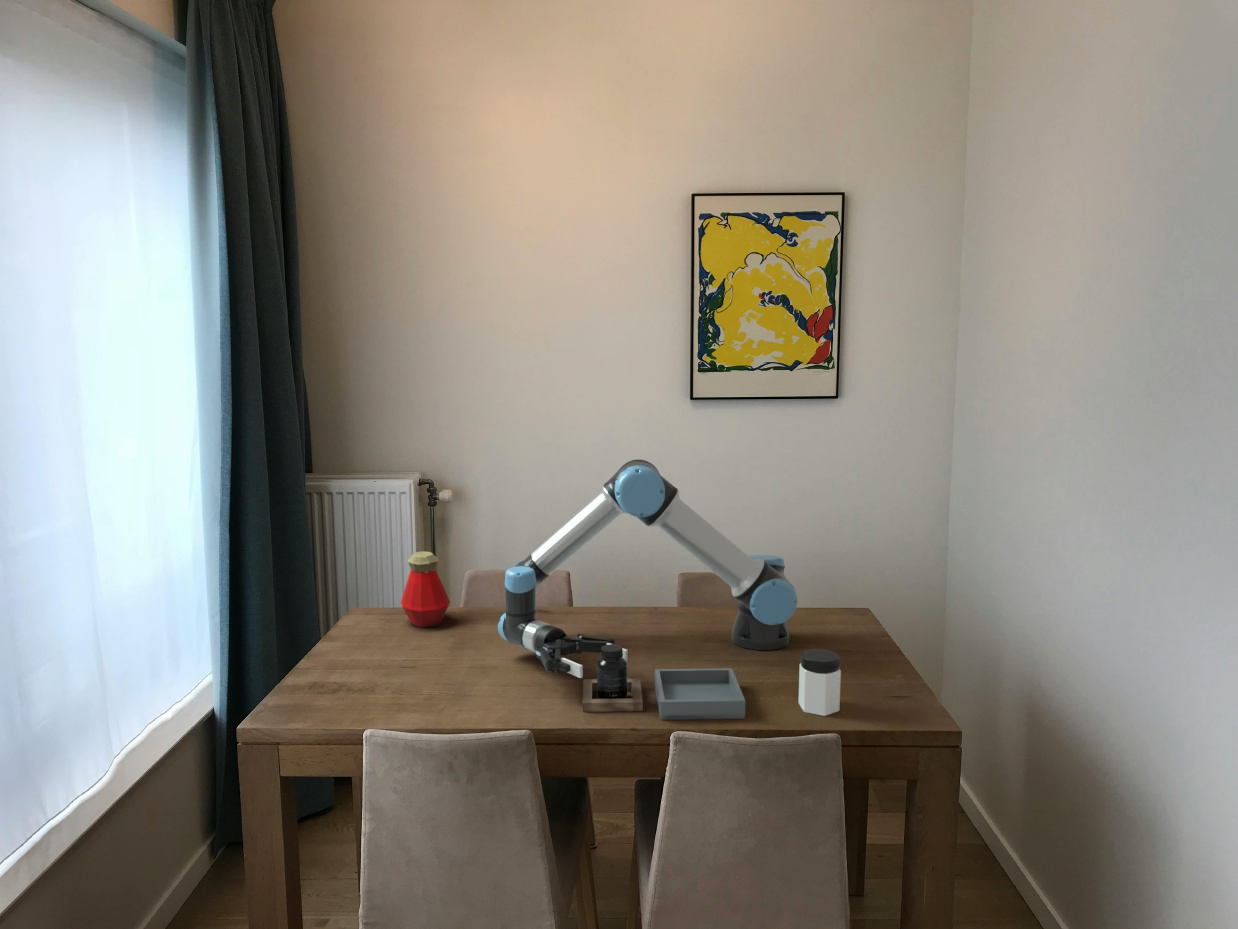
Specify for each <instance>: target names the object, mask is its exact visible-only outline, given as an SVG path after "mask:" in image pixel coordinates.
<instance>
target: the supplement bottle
mask: <svg viewBox="0 0 1238 929" xmlns="http://www.w3.org/2000/svg"><path fill="white" fill-rule="evenodd" d="M622 648H623V647H622V646H621V645H619V644H610V645H605V646H603V647H602V648H601V653H600V658H599V659H598V660H597V662H596V679H597V691H596V693H597V694H596V695H597V698H596V699H628V690H627V679H628V661H627V662H626V660H625V659H624V658H623V649H622Z"/></svg>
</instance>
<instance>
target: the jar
mask: <svg viewBox="0 0 1238 929" xmlns="http://www.w3.org/2000/svg"><path fill="white" fill-rule="evenodd" d="M840 665H841V660H840V655H839V654H838V653H837V652H836V651H833V650H829V649H824V648H809V649H806V650H804V651H802V652H801V655H800V663H799V666H798V667H799V674H798V676H799V677H798V700H797V701H798V706H800V708H801V710H802V711H803V713H807V714H811V715H816V716H823V717H826V716H830V715H831V714H832V715H833V714H835V713H837V712H839V711H840V708H841V707H840V702H841V701H840V700H841V678H842V677H841V676H842V671H841V669H840Z"/></svg>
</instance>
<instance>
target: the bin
mask: <svg viewBox="0 0 1238 929" xmlns="http://www.w3.org/2000/svg"><path fill="white" fill-rule="evenodd" d="M654 690H655V695H656V701H657V706H658V714H659V719H660V721H665V720H666V721H669V720H673V721H674V720H675V721H677V720H679V721H680V720H684V721H685V720H745V719H746V699H745V696H744V694H743V691H742V689H741V687H740V684H739V682H738V679H737V677H736V674H735V672H734V670H733V668H729V667H727V668H726V667H725V668H668V669H667V668H665V669H664V668H661V669H658V668H657V669H656V668H655V669H654Z"/></svg>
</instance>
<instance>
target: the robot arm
mask: <svg viewBox="0 0 1238 929" xmlns="http://www.w3.org/2000/svg"><path fill="white" fill-rule="evenodd" d="M601 489H602V490H601V492H599V493H598V494H597V495H596V496H595V497H594V498H593V499H592V500H590V501H589V502H588V503H587V504H586V505H585V506H584V507H583V508H581V509H580V510H579V511H578V512H577V513H576V514H575V515H573V516H572V517H571V518H570V519H569V520H568V521H566V523H565V524H563V525H562V526H561V527H560V528H559V529H558V530H556V531H555V532H554V533H553V534H552V535H550V537H549V538H547V539H546V540H545V541H544V542H543V543H541V545H539V546H538V547H537V548H536V549H534V551H532V553H531V554H529V555H528V556H527V557H526V558H525V559H522V560H520V561H519V562H517V564H516V565H515V566H512V567H510V568H507V570H506V571H505V573H504V578H505V579H504V589H505V590H504V591H505V613H503V614H502V615H501V616H500V618H499V622H498V623H497V631H498V634H499V635H500V637H501V638H502V639H503V640H505V641H507V642H508V643H510V644H512V645H516V646H519V647H521V648H524V649H526V650H528V651H531V652H533V653H535V654H536V658H537V659H539V660H540V661H541V663H542V665H543V667H544V668H545V670H546V671H547V672H552V671H553V669H554V673H555V674H560V673H561V671H562V672H564V673H567V674H570V675H572V676H574V677H577V678H579V679H582V678H584V677H583V676H584V670H583V668H584V666H583V664H580V663H577V662H575V661H572V660H570V659H568V658H565V656H568V655H571V654H576V655H578V654H579V655H580V654H582V653H600V654H601V648H602V647H603V646H605V645H610V644H615V638H608V637H603V636H602V637H600V636H593V635H587V634H583V633H577V634H576V637H572V636H568V635H567V634H566V633H565V632H566V631H564V630H563V629H562V628H560V627H557V626H554V625H552V624H550V623H547V622H545V621H541V620H539V619H537V591H538V589H539V588H538V587H539V586H540V585H541V584H542V583H544V581H545V580H547V579H548V578H549V577H550V576H551V575H552V574H553V573H554V572H555V571H556V570H557V569H559V568H560V567H561V566H563V564H565V563H566V561H568V560H570V558H571V557H573V556H574V555H575V554H576V553H577V552H578V551H580V550H581V549H582V548H583V547H584V546H585V545H587V543H589V542H590V541H591V540H592V539H593V538H594V537H596V536H597V535H598V534H600V532H601V531H602V530H604V529H605V528H606V527H607V526H608V525H609V524H611V523H612V522H613V521H614V520H615V519H617V517H619V516H620V515H621V514H629V515H630V516H631V517H632V516H633V517H635V518H637V519H638V520H639V521H641V522H642V523H643V524H644V525H646V526H647V528H648V527H658V528H659V529H660V530H662V531H663V532H664V533H665V534H666V535H668V536H669V537H671V539H672V540H674V541H675V542H676V543H677V544H679V545H680V546H681V547H682V548H683V549H684V550H686V551H687V552H688V553H689V554H691V555H692V556H693V557H695V558H696V559H697V560H698V561H699V562H701V563H702V564H704V565H705V566H706V567H707V568H708V569H709V570H711V571H712V572H713V573H714V574H715V575H717V576H718V577H719V578H720V579H722V580H723V582H725V583H726V584H727V585H728V586H730V588H731V589H730V590H731V595H732V597H734V598H735V599H736V600H737V601H738V611H737V615H736V617H735V621H734V623H733V627H732V629H731V637H730V638H731V641H732V643H734V644H735V645H736V646H739V647H742V648H744V649H748V650H755V651H757V650H758V651H773V650H779V649H782V648H785V647H786V646H788V645H789V643H790V633H789V629H788V627H787V625H788V624H787V621H788V620H789V619H791V617H792V616H793V615H794V613H795V612H796V610H797V607H798V595H797V592H796V589H795V587H794V586H793V584H792V583H790V581H789V579H788V578H787V577H786V575H785V567H786V566H785V560H784V558H783V557H782V556H777V555H772V554H771V555H769V554H751V555H748V554H747V553H746V552H745V551H743V550H742V549H741V548H739V547H738V546H737V545H736V544H735V543H734V542H733V541H732V540H730V539H729V538H728V537H726V536H725V535H724V534H723V533H721V532H720V531H719V530H718V529H716V527H714V526H713V525H712V524H711V523H709V522H708V521H707V520H706V519H704V517H702V516H701V515H700V514H698V513H697V511H694V509H692V508H691V507H690V506H689V505H688V504H686V502H684V501H683V500H682V499H681V498H680V491H679V489H678V488H676V487H675V486H674V485H673V484H672V483H671V482H670V481H668V480H667V479H666V478H665V477H664V476H662V475H661V474H660V471H659V470H658V468H657V467H656V466H655V465H654V464H653V463H651V462H649V461H648V460H645V459H631V460H629V461H626V462H625V463H624V464H623V465H622V466H620V467H619V469H618V470H617V471H616V472H615V473H614V475H612V477H610V479H608V480H607V481H605V483H604V484H602V488H601ZM577 645H578V649H577ZM615 645H616V644H615ZM622 649H623V658H624V659H625V660H626V662H627V663H628V661H629V656H628V654H629V652H628V649H626V648H623V647H622ZM562 656H564V657H562Z"/></svg>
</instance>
